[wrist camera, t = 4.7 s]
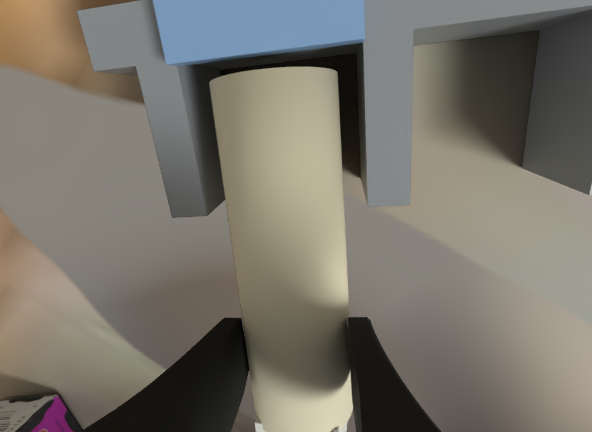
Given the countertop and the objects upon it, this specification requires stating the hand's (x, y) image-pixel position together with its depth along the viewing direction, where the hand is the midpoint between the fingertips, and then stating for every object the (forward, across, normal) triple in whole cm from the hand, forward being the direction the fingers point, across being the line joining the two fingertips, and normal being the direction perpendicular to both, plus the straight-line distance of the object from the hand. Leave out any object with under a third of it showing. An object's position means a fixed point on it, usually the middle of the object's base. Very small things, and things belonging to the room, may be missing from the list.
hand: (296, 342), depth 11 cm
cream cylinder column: (+2, 0, -2) cm, 3 cm away
